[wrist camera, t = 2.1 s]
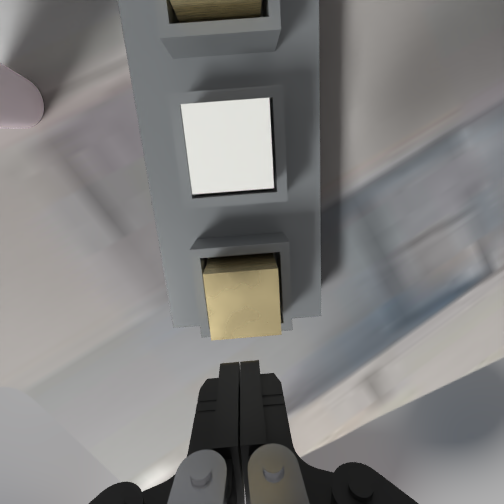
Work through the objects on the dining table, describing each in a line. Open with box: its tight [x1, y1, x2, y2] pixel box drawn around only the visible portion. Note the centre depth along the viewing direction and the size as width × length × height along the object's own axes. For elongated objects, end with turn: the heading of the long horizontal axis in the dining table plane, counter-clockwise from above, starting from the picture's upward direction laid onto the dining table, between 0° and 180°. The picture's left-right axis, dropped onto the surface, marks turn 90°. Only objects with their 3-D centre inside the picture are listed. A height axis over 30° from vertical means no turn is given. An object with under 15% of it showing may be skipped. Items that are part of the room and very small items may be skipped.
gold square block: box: [203, 253, 281, 340], centre depth 19 cm, size 4×4×3 cm
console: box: [118, 0, 321, 337], centre depth 20 cm, size 12×26×7 cm, turn 4°
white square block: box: [181, 98, 274, 194], centre depth 16 cm, size 4×4×3 cm
